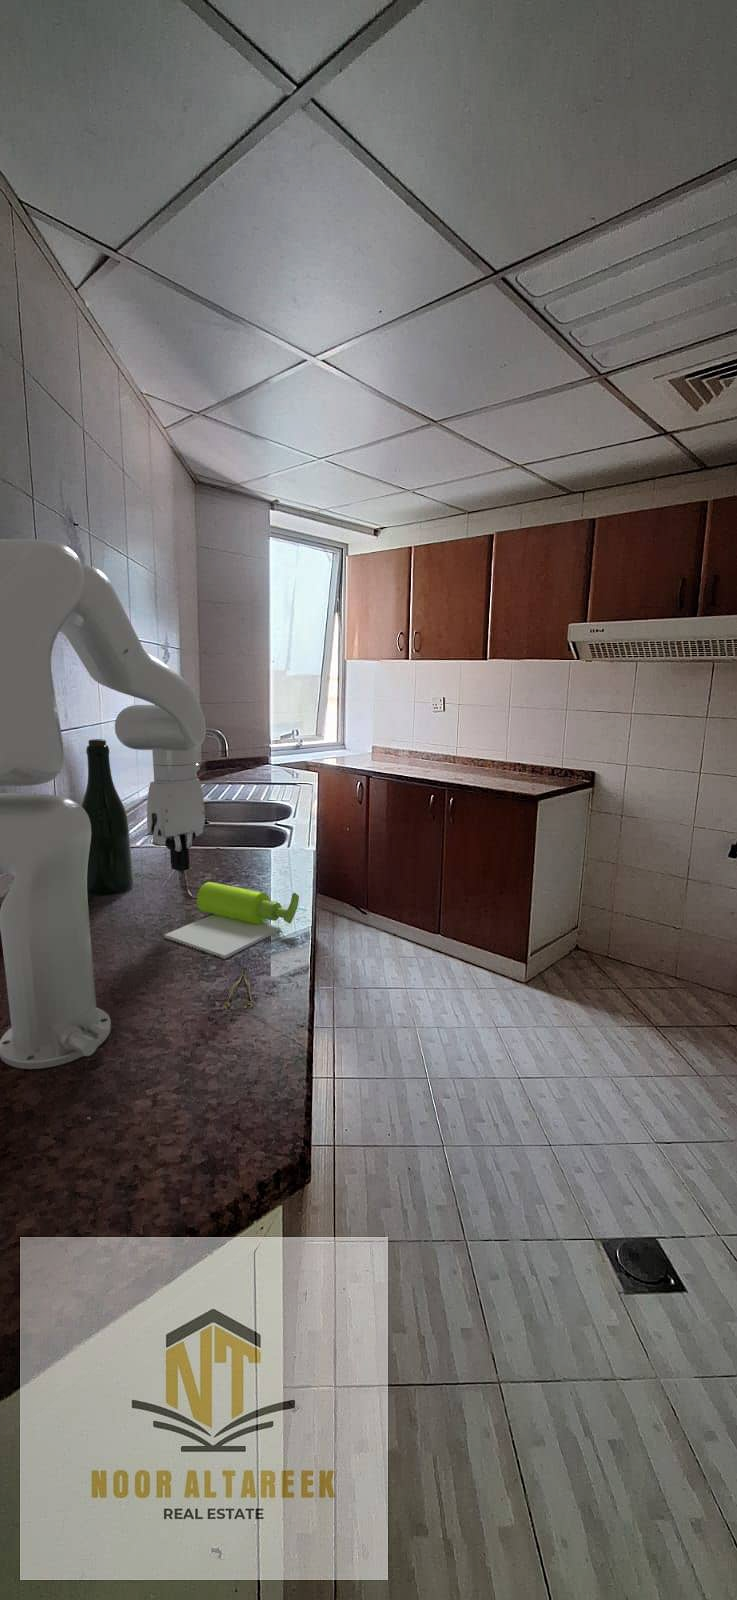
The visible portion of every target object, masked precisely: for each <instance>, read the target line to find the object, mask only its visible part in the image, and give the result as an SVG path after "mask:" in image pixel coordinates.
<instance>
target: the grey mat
mask: <svg viewBox="0 0 737 1600" xmlns="http://www.w3.org/2000/svg"><path fill="white" fill-rule="evenodd" d="M280 931H281V927H280V926H278V925H274V924H271V923H267V922H264V921H263V922H262V923H260V924H255V923H251V922H246V921H242V920H238V919H233V918H229V917H225V916H221V915H216V914H211V915H210V914H209V916H206V917H203V918H200V919H199V920H195V921H193V922H191V923H188V924H187V925H183V926H182V927H180V928H177V929H174V930H173V931H169V932H168V933H165V934H164V939H167V940H169V941H172V940H173V942H175V941H176V943H178V942H179V943H178V944H181V943H182V945H184V944H185V945H184V946H187V945H188V946H187V947H189V948H192V947H193V949H195V948H196V949H195V950H198V949H200V950H199V951H201V950H203V951H202V952H204V951H205V952H204V953H208V954H210V955H213V956H215V955H216V957H218V956H219V958H221V959H224V960H226V959H227V958H229V957H231V956H233V955H235V954H237V953H240V952H241V951H243V950H246V949H247V948H249V947H251V946H252V945H255V944H257V943H259V942H261V941H262V940H265V939H267V938H268V937H270V936H273V935H275V934H276V933H278V932H280Z"/></svg>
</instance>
